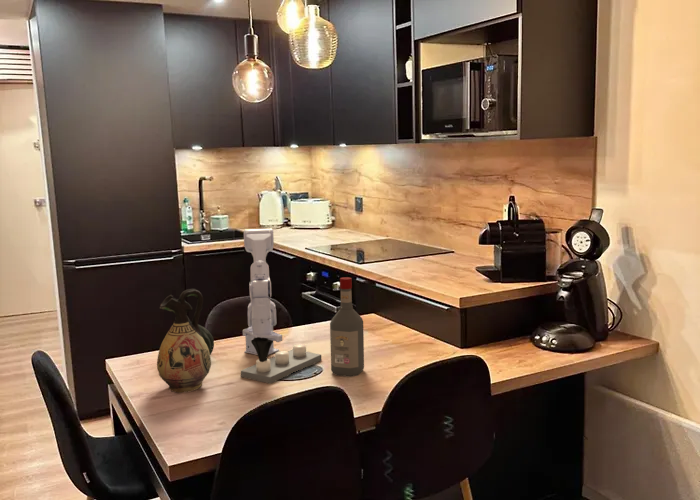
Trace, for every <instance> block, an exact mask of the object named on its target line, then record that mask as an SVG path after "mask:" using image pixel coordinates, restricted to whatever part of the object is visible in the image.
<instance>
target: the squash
mask: <svg viewBox="0 0 700 500" xmlns="http://www.w3.org/2000/svg"><path fill="white" fill-rule="evenodd" d="M198 326H199V329H200V333H201V336H202V337H203V339H204V341H205V343H206V344H207V346H208V349H209V353H210V356H211V355H212V353H213V350H214V348H215V339H214V336H213V335H212V334H211V332H210V330H208V329H207V328H206V327H204V326H202V325H201V324H199V323H198Z"/></svg>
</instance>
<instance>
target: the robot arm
mask: <svg viewBox="0 0 700 500" xmlns="http://www.w3.org/2000/svg"><path fill="white" fill-rule="evenodd" d="M274 239H275V238H274V229H273V228H272V227H270V228H256V229H255V228H254V229H253V228H252V229H249V228H248V229H247V228H244V230H243V244H244V245H243V246H244V249H245V252H247V253H251V256H252V258H253V262H252V264H251V265H250V282H249V285H248V286H249V288H248V289H249V297H250V302H249V303H248V306H247V325H248V327H247V328H244V329H242V336H243V337H245V350H244V353H248V354H252V355H257V357H258V359H259V361H260V362H264V361H267V359H268V358H269V357H268V356H269V355H271V354H275V353H276V352H279V351H280V349H278V348H274V347H275V346H274V342H276V343H280V342H283V334H280V333H277V332H275V331H274V327H276V325H277V309H276V304H275V302H273V301H272V300H271V298H272V281H271V278H270V268H269V267H270V266H269V264H268V262H267V260H266V259H267V256H268V253H269V252H272V251H273V249H274V245H275V242H274V241H275V240H274Z"/></svg>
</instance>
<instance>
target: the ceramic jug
mask: <svg viewBox="0 0 700 500" xmlns="http://www.w3.org/2000/svg"><path fill="white" fill-rule="evenodd" d="M188 297H194V298H195V299H197V302H196V307H195V311H194V314H193V317H192V319H190V318H189V316H188V315H187V314H188V313H189V312H192V310H193V306H192V305H191V304H190V303H189V302H187V301H186V298H188ZM203 305H204V297H203V294H202V292H200V290H198V289H196V288H188V289H185V290H184V291H182V292H181V294H179V297H178V298H176V297H174V295H172V294H169V295H168V296H166V298H164V300H163V301H162V302H161V303H160V306H159V309H161V310H164V311H169V312H171V313H174V315H175V318H174V321H173V324H172V325H171V326H170V328H169V330H168V331H167V333H166V335H165V336H164V338H163V340H162V342H161V344H160V347H159V349H158V350H159V351H158V355H157V360H156V361H157V362H156V365H157V366H156V368H157V372H158V375H159V377H160V378H161V379H162V380H163V382H164V383H166V384H167V385H168V390H170V391H171V392H173V393H177V394H178V393H180V394H181V393H190V392H194V391H196V390H198V389H199V388H201V387H202V385H203V381H204V380H205V379H206V377H207V375H209V373H210V369H211V366H212V359H211V355H210V353H209V349H208V346H207V344H206V343H205V341H204V339H203V337H202V336H201V333H200V329H199V326H198V324H199V319H200V317H201V312H202V309H203Z"/></svg>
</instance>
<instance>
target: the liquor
mask: <svg viewBox="0 0 700 500" xmlns="http://www.w3.org/2000/svg"><path fill="white" fill-rule="evenodd" d="M352 281H353V280H352V277H348V276H346V277H344V276H343V277H340V278H339V288H340V307H339V310H338V311H337V312H336V313H335V315H334V316H333V317H332V318H331V319H330V323H329V333H330V334H329V338H330V370H331V372H332V374H334V375H335V376H339V377H347V378H352V377H357V376H359V375H360V374H361V373H362V372H363V371H364V369H365V341H364V340H365V337H364V334H365V333H364V321H363V318H362V316H361V315H360V314H359V313H358V312H357V311H356V310H355V309H354V306H353V301H352V299H353V298H352V296H353V295H352V288H353V285H352V284H353V282H352Z"/></svg>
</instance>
